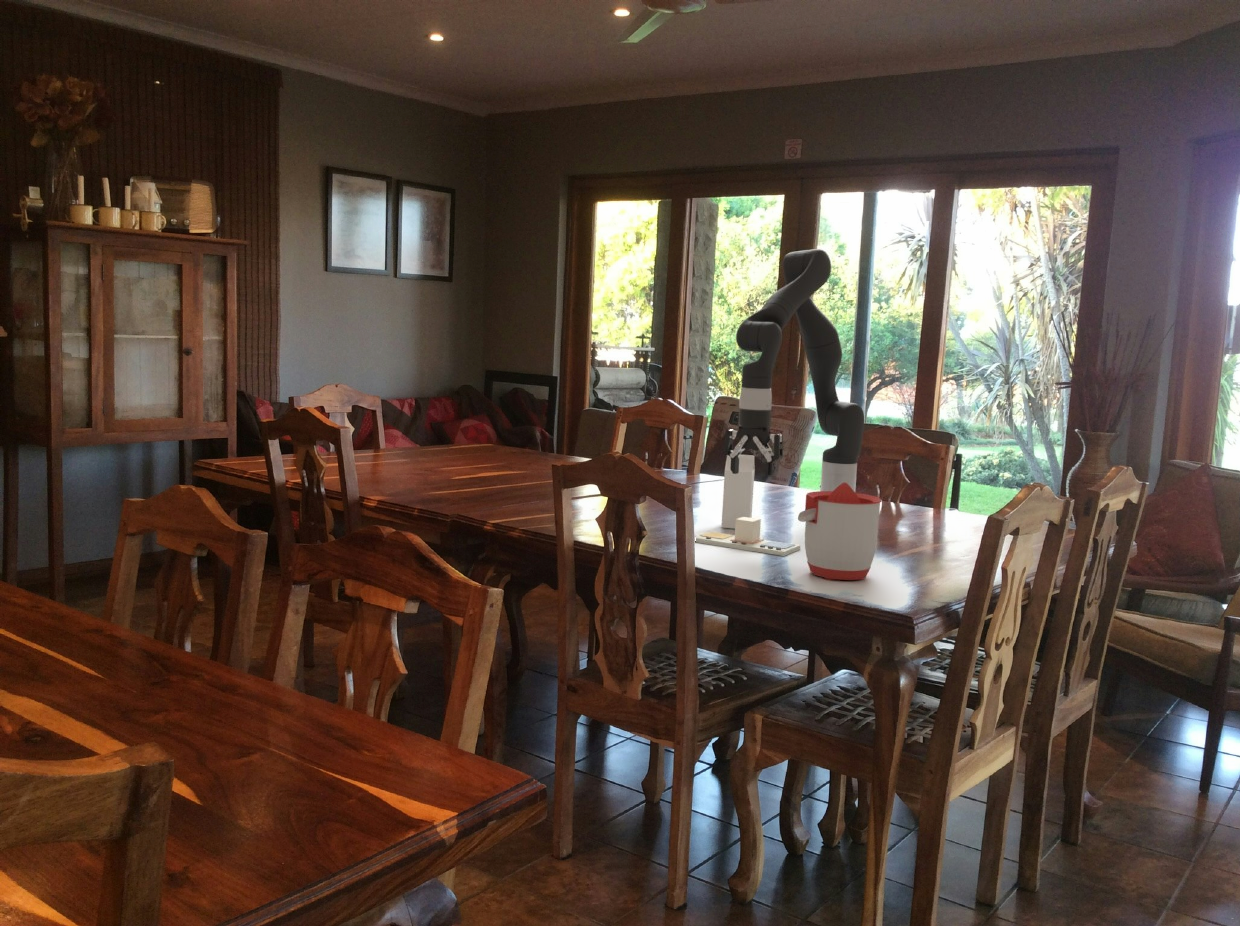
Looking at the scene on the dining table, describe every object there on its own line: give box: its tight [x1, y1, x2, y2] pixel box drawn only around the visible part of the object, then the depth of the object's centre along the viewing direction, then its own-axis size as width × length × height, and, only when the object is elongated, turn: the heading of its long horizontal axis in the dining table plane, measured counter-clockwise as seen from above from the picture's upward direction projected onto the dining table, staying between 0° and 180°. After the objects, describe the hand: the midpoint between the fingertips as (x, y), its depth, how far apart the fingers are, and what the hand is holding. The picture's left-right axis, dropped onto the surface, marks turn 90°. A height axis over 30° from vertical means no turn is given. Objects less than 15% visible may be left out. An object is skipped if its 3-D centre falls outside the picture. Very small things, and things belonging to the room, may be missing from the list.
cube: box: [734, 517, 762, 542], centre depth 255 cm, size 4×4×5 cm
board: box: [695, 531, 801, 557], centre depth 255 cm, size 10×24×1 cm, turn 59°
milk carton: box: [721, 454, 756, 530], centre depth 278 cm, size 7×7×19 cm
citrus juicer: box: [797, 482, 883, 581], centre depth 226 cm, size 16×17×20 cm
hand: (751, 475), depth 254 cm, fingers open, 8 cm apart
